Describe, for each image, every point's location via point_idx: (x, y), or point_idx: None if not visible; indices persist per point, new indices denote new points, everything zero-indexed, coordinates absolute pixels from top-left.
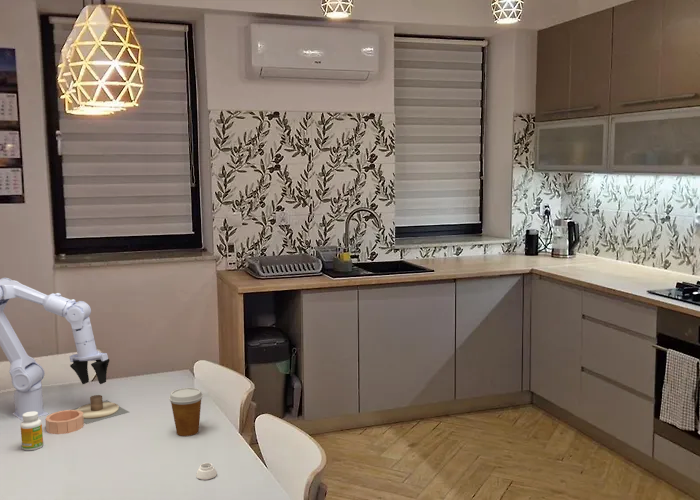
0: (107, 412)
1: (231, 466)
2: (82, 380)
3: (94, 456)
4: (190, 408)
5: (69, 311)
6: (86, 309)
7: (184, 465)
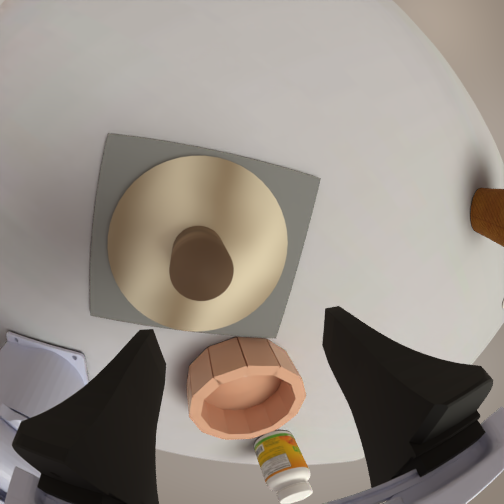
0: (273, 250)
1: None
2: (162, 387)
3: None
4: None
5: None
6: None
7: (494, 298)
